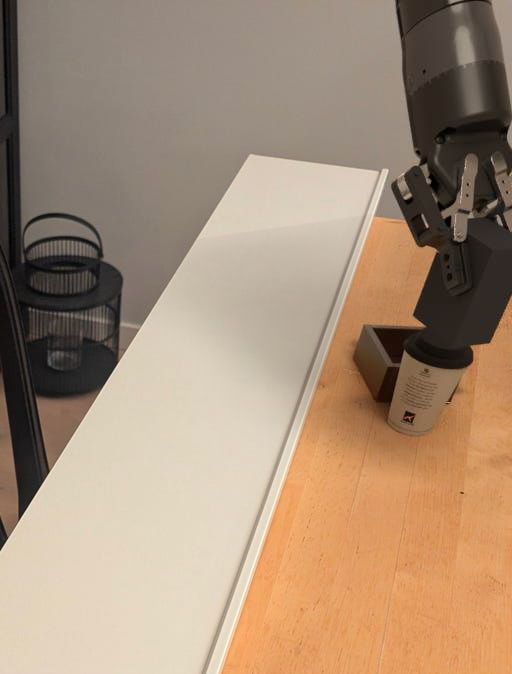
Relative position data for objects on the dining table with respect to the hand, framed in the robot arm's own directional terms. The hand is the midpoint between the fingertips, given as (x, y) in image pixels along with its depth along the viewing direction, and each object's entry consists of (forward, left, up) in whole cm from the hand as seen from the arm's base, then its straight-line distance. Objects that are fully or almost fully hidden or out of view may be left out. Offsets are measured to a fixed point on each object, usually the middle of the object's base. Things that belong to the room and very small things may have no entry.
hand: (485, 289), depth 77 cm
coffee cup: (-4, -11, -20) cm, 23 cm away
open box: (-6, -20, -20) cm, 29 cm away
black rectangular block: (+1, -2, -5) cm, 5 cm away
